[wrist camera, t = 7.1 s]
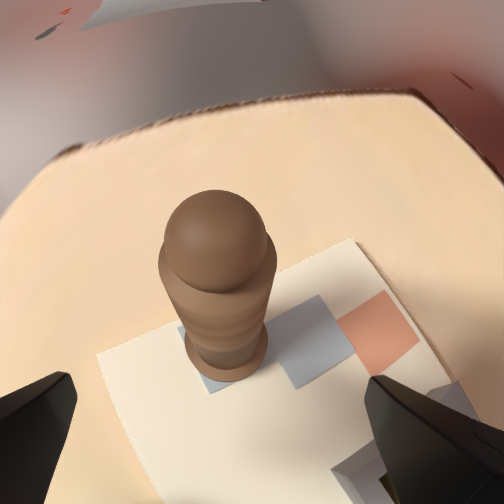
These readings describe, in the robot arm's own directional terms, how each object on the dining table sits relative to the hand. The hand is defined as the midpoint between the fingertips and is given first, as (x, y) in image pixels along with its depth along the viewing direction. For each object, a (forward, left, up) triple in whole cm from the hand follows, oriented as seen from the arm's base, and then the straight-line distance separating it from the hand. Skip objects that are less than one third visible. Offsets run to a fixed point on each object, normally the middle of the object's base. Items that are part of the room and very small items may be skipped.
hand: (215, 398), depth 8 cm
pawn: (+4, -2, -10) cm, 11 cm away
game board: (-5, -4, -12) cm, 13 cm away
